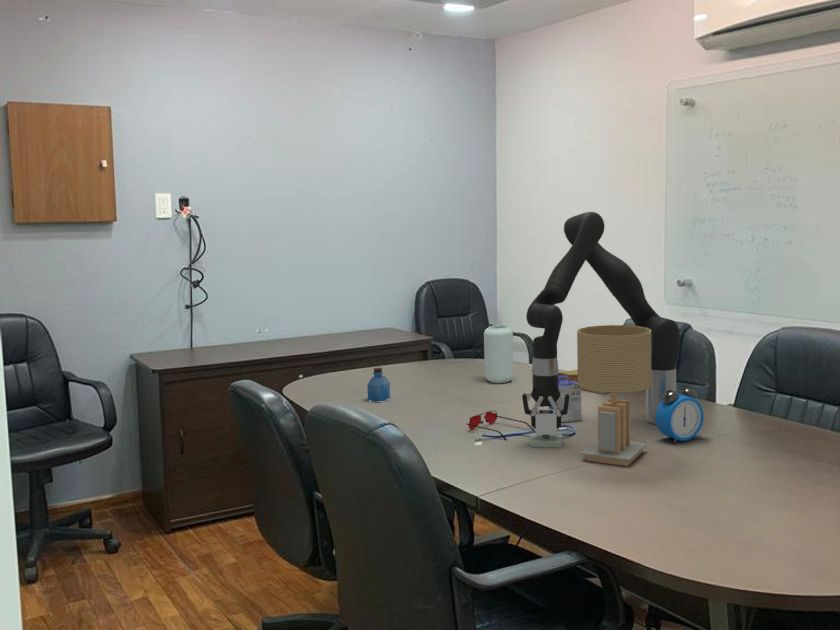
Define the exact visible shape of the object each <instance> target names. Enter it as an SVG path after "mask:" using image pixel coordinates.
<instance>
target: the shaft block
mask: <svg viewBox="0 0 840 630" xmlns="http://www.w3.org/2000/svg"><path fill="white" fill-rule="evenodd" d="M542 414H549V411H542ZM562 434H563V433H557V435H543V434H536V432H535V433H531V435H530V439H529V442H530V443H529V444H530V445H529V447H530V448H559V449H560V448H563V441H562V440H563V439H562V438H563V435H562Z"/></svg>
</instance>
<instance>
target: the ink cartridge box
mask: <svg viewBox="0 0 840 630" xmlns="http://www.w3.org/2000/svg"><path fill="white" fill-rule="evenodd" d="M563 377H564V378H567V380H560V378H563ZM558 381H559V391H560V393H564V394H566V393H569V404H568V412H567V414H566V415H562V416H561V423H565V422H566V423H567V422H568V423H569V422H575V421H576V422H577V421H582V420H583V419H582V416H583V415H582V414H583V413H582V412H583V411H582V390H581V387H580V386H579V385H578V382H576V381H570V382H569V378H568V375H564V376H558ZM556 403H557V405H558V407H559V409H560V410H563V408H564V401H563V400H562V397H559V399H558V400H557V401H556ZM548 409H553V407H552V406H551V407H548Z"/></svg>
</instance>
